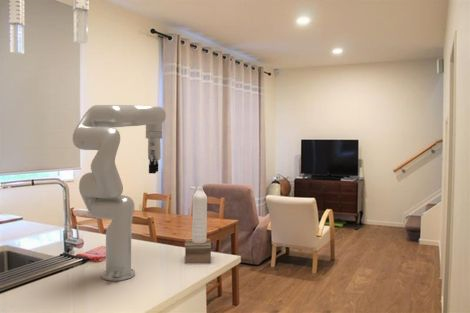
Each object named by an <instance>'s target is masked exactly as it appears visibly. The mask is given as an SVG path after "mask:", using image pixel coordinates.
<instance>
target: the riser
mask: <svg viewBox="0 0 470 313" xmlns="http://www.w3.org/2000/svg"><path fill="white" fill-rule="evenodd" d="M211 241H212V240H211V238H207V241H206V243H202V244H197V243H193V242H192V238H186V239H185V244H184V249H185V251H184V252H185V255H184V264H185V263H210V264H211V262H212V261H211V258H212V257H211V255H212V253H211V251H212V244H211Z"/></svg>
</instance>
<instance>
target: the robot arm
mask: <svg viewBox="0 0 470 313" xmlns="http://www.w3.org/2000/svg"><path fill="white" fill-rule="evenodd" d="M166 118H167V114H166V110H165V109H164V107H162V106H149V105H148V106H146V105H145V106H144V105H137V104H135V105H133V104H130V105H129V104H95V105H92V106H90V108H88V110H87V111H86V112H85V113H84V115H83V116H82V118H81V119H80V121H79V122H78V124H77V125H76V127H75V129H74V131H73V133H72V143H73V145H74V147H76V148H77V149H79V150H82V151H97V152H96V153H95V155H94V157H93V159H92V160H91V163H90V172H87V173H85V174H83V175H81V178H80V180H79V183H78V189H79V190H78V191H79V194H80V196H81V198H82V200H83V203H84V204H85V207H86V209H87V211H88V213H89V214H90V216H91V217H92V218H95V219H103V220H104V219H105V220H111V221H110V223H109V225H108V226H107V228H106V231H105V270H103V271H102V272H101V278H102V280H105V281H109V282H110V281H112V282H118V281H126V280H129V279H132V278H133V277H135V275H136V271H135V270H134V269H133V268H132V227H133V216H134V211H135V202H134V200H133V198H131V197H130V196H127V195H124V194H123V191H124V185H123V182H122V179H121V177H120V174H119V171H118V168H117V165H116V156H117V152H118V149H119V147H120V143H121V133H120V131H119V130H118V129H116V128H124V127H139V126H145V139H147V157H148V158H147V159H148V160H149V161H148V174H156V173H158V172H159V161H160V160H161V159H162V158H161V153H162V152H161V139H163V123H164V122H165V120H166ZM122 194H123V195H122Z"/></svg>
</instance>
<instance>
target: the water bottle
mask: <svg viewBox="0 0 470 313" xmlns="http://www.w3.org/2000/svg"><path fill="white" fill-rule="evenodd" d="M189 190H191V191H192V190H193V191H195V190H196V192H195V193H194V194H193V196H192V217H191V218H192V220H191V222H192V225H191V226H192V228H191V231H192V233H191V234H192V236H191V239H192V242H193V243H197V244H202V243H206V241H207V239H208V238H207V235H208V234H207V229H208V227H207V226H208V224H207V223H208V220H207V219H208V212H207V211H208V197H207V194H206V193H205V191H204V188H203V186H197V188H196V186H190V188H189Z"/></svg>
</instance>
